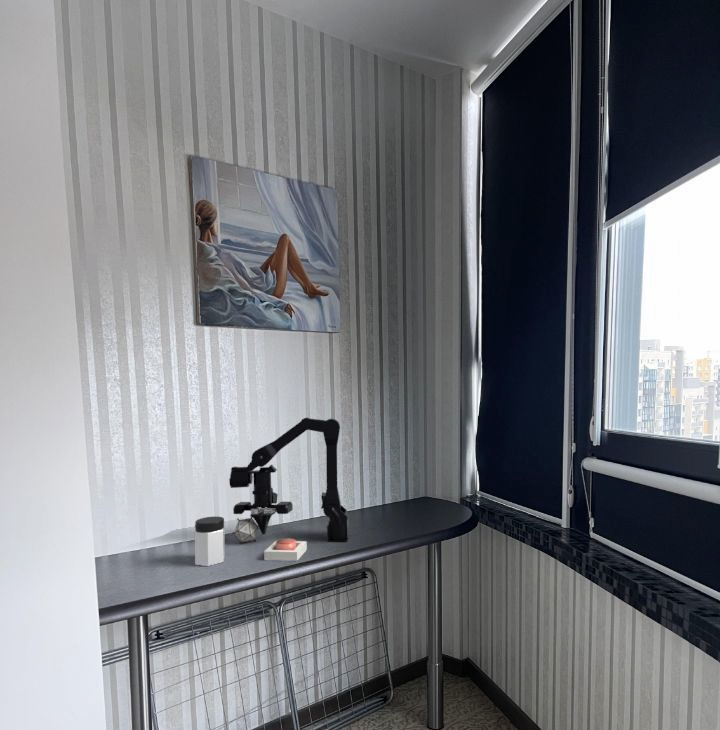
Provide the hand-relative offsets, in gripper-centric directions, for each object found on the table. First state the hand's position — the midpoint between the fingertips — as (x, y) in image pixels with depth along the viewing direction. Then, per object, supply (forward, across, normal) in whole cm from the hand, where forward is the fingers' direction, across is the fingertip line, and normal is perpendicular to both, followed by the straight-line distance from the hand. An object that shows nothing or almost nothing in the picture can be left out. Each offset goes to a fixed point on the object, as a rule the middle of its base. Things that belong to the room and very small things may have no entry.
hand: (263, 534), depth 152 cm
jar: (+3, +10, +18) cm, 21 cm away
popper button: (+2, -11, +11) cm, 16 cm away
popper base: (+3, -11, +11) cm, 16 cm away
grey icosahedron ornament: (+3, +6, 0) cm, 7 cm away
